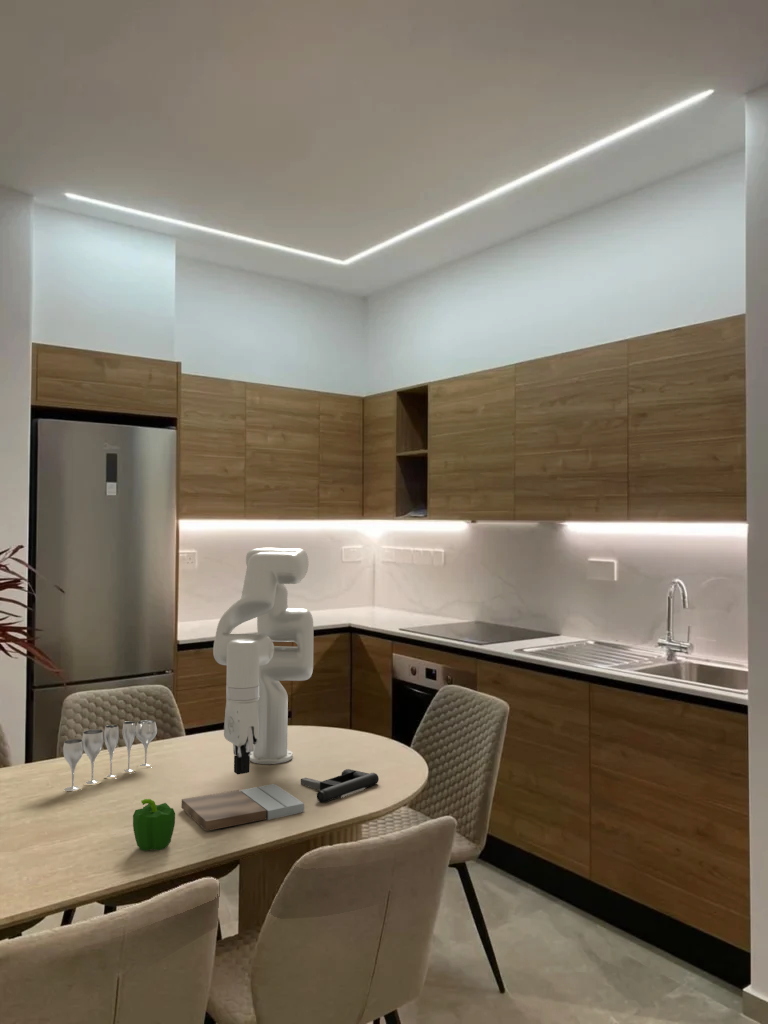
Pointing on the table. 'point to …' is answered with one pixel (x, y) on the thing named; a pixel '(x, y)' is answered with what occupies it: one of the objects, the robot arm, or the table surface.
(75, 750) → the goblet set
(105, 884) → the table surface
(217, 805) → the plank
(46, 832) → the table surface
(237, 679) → the robot arm
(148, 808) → the bell pepper
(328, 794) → the door handle
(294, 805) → the laid boards
